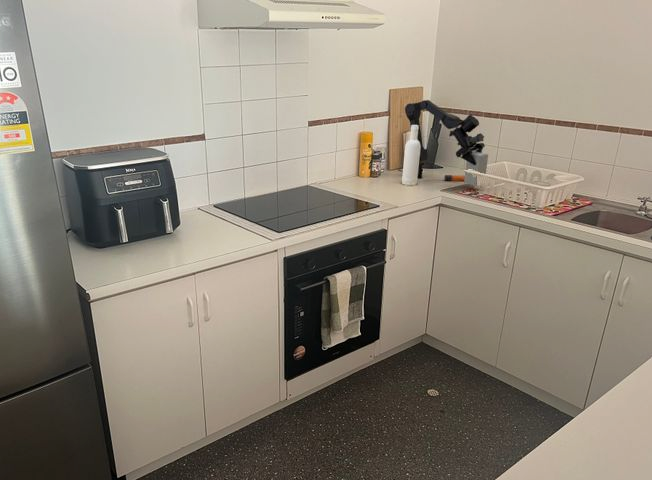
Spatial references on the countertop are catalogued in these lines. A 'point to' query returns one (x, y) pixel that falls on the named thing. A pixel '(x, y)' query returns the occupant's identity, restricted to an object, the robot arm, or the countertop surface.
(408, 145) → the bottle
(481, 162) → the cosmetic box
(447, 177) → the orange marker
